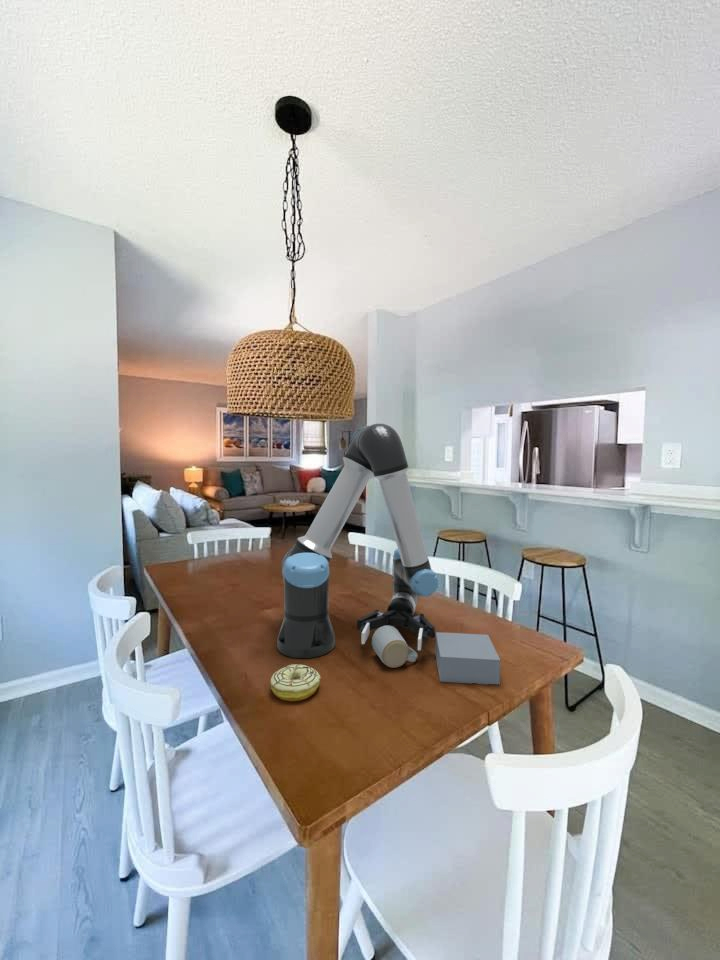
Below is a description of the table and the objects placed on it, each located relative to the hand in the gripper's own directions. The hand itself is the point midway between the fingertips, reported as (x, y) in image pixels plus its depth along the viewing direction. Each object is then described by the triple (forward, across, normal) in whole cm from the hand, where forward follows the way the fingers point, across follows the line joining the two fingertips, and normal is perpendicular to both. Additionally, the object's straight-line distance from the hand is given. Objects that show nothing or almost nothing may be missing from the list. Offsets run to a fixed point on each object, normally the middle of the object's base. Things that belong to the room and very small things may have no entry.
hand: (390, 641), depth 99 cm
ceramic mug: (-3, -1, -6) cm, 7 cm away
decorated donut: (+14, +18, -6) cm, 24 cm away
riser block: (-3, -18, -6) cm, 19 cm away
